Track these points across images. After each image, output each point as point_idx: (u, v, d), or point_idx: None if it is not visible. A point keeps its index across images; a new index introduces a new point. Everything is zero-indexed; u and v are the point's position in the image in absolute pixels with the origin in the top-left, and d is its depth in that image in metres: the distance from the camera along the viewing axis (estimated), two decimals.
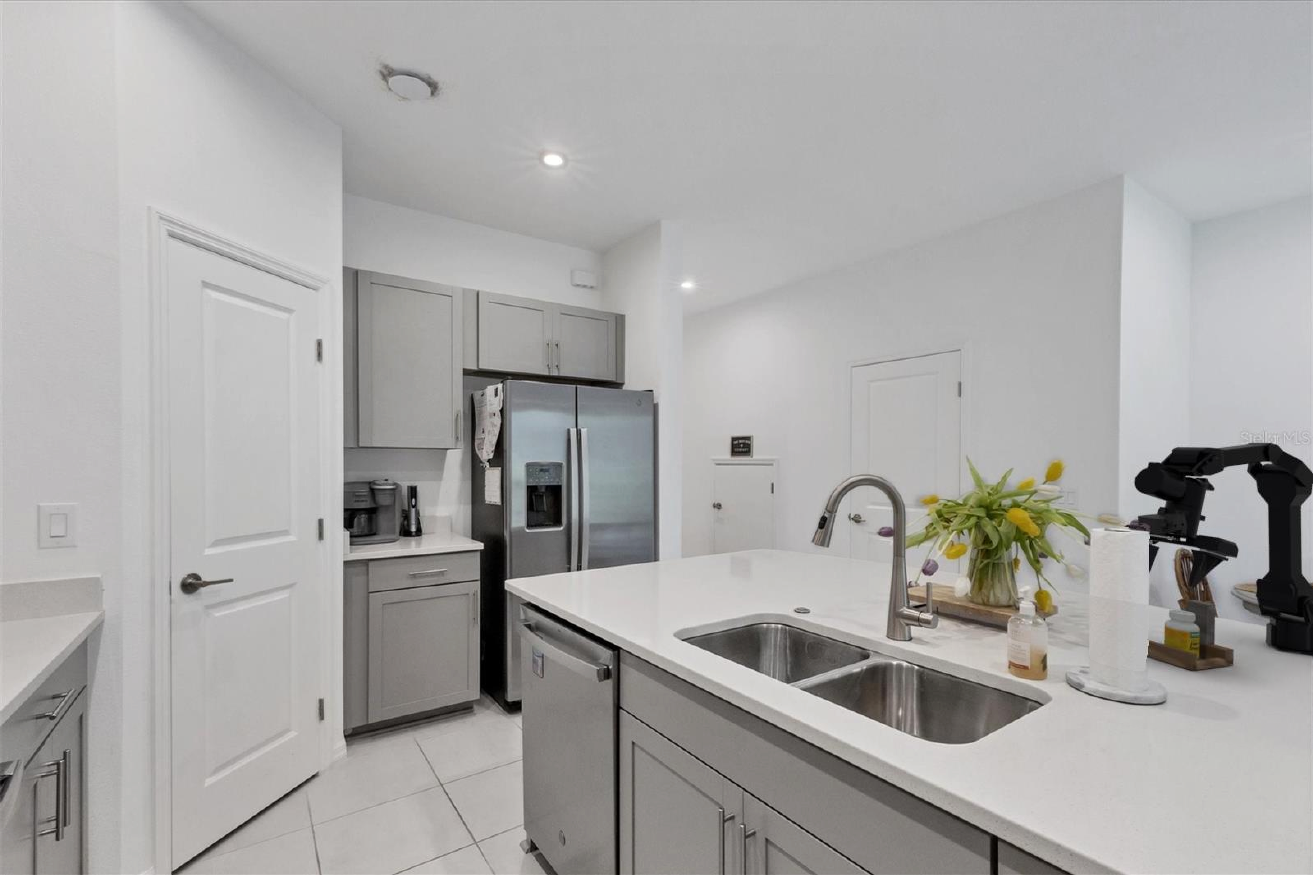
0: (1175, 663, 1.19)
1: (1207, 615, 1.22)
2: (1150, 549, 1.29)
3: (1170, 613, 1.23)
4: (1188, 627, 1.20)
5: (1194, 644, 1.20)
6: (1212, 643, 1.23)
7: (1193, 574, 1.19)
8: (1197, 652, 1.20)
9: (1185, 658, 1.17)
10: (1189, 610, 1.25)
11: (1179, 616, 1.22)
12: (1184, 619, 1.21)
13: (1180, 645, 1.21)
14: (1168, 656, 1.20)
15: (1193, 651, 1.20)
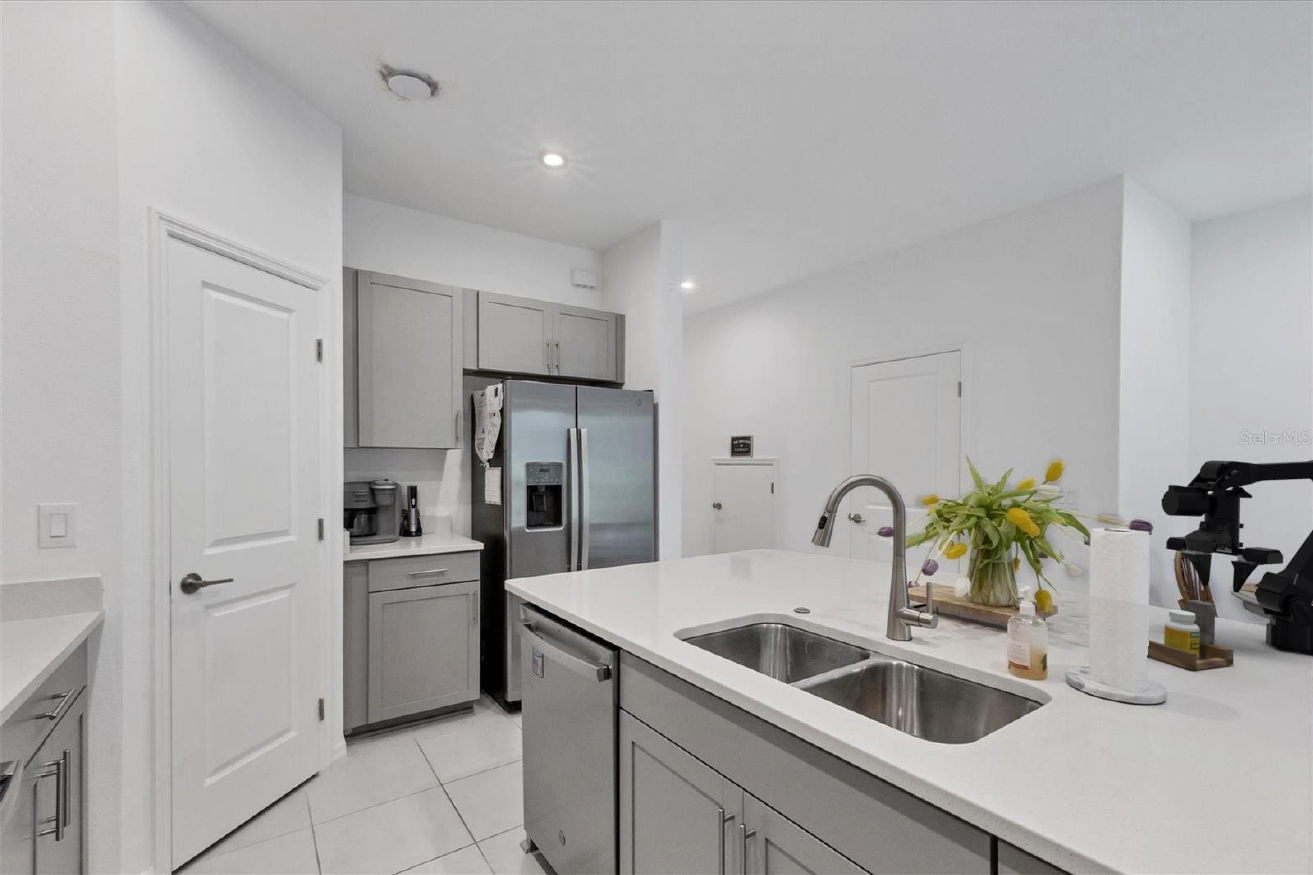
0: (1175, 663, 1.19)
1: (1207, 615, 1.22)
2: (1205, 559, 1.37)
3: (1170, 613, 1.23)
4: (1188, 627, 1.20)
5: (1194, 644, 1.20)
6: (1212, 643, 1.23)
7: (1236, 581, 1.30)
8: (1197, 652, 1.20)
9: (1185, 658, 1.17)
10: (1189, 610, 1.25)
11: (1179, 616, 1.22)
12: (1184, 619, 1.21)
13: (1180, 645, 1.21)
14: (1168, 656, 1.20)
15: (1193, 651, 1.20)
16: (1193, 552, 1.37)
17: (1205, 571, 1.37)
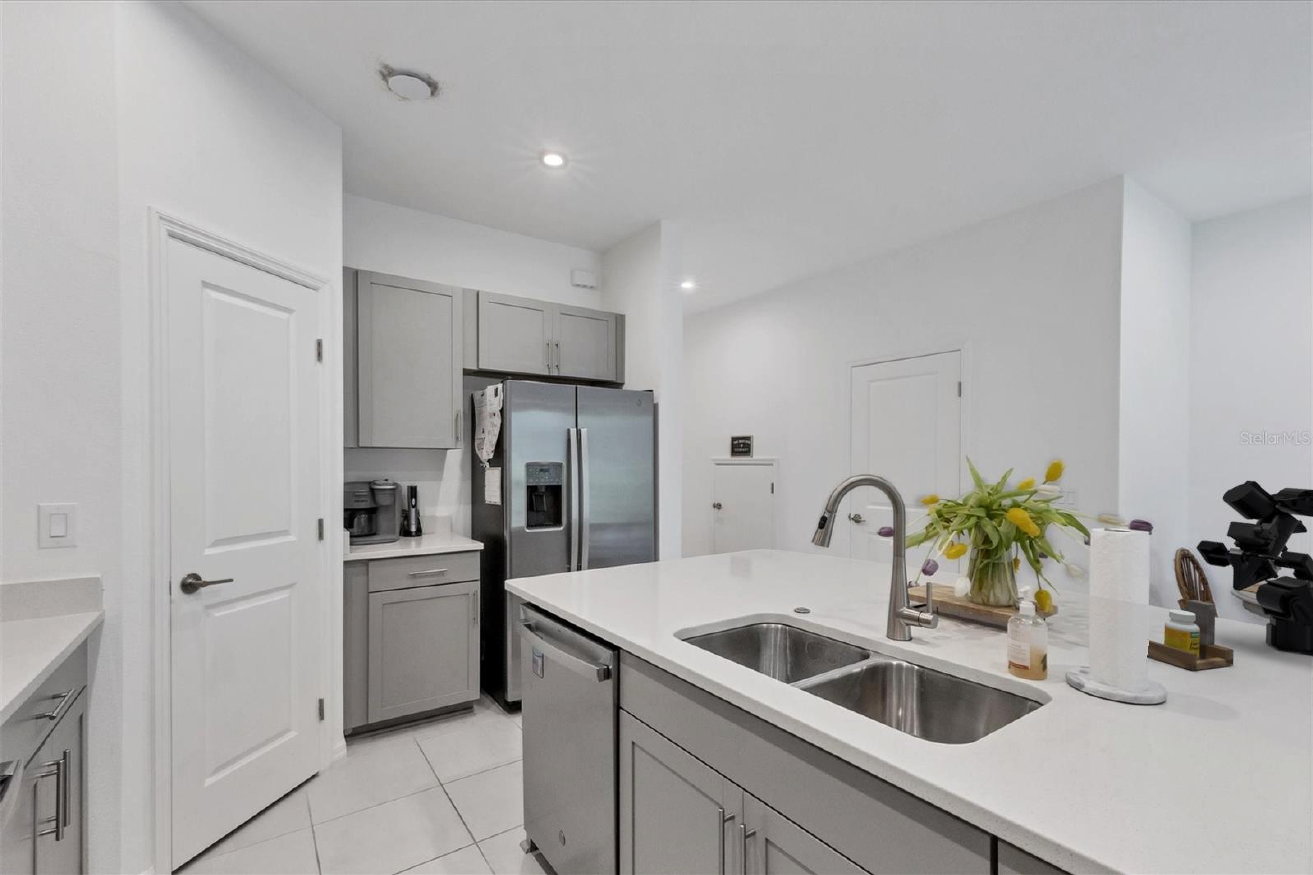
0: (1175, 663, 1.19)
1: (1207, 615, 1.22)
2: None
3: (1170, 613, 1.23)
4: (1188, 627, 1.20)
5: (1194, 644, 1.20)
6: (1212, 643, 1.23)
7: (1243, 578, 1.28)
8: (1197, 652, 1.20)
9: (1185, 658, 1.17)
10: (1189, 610, 1.25)
11: (1179, 616, 1.22)
12: (1184, 619, 1.21)
13: (1180, 645, 1.21)
14: (1168, 656, 1.20)
15: (1193, 651, 1.20)
16: None
17: None
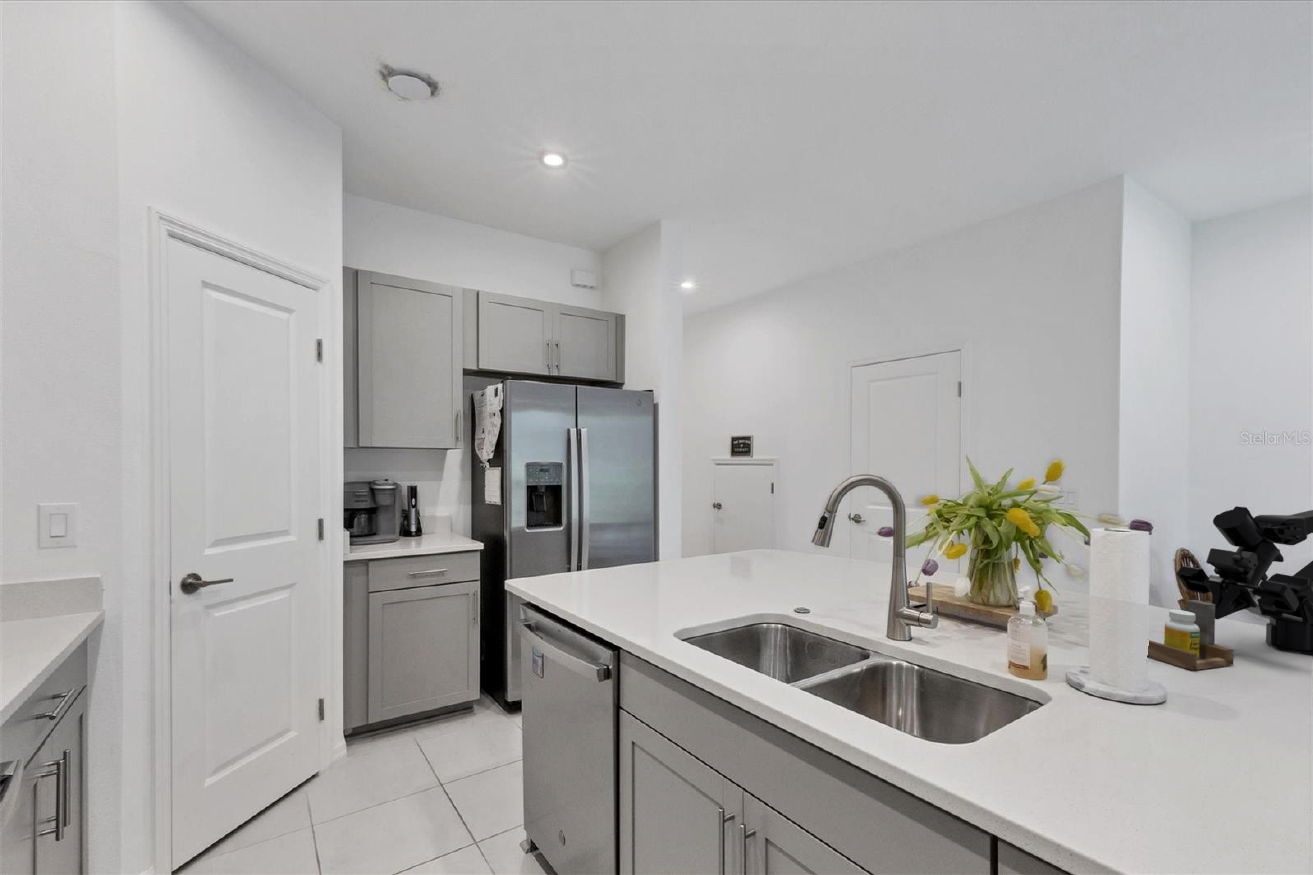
0: (1175, 663, 1.19)
1: (1207, 615, 1.22)
2: None
3: (1170, 613, 1.23)
4: (1188, 627, 1.20)
5: (1194, 644, 1.20)
6: (1212, 643, 1.23)
7: (1221, 606, 1.25)
8: (1197, 652, 1.20)
9: (1185, 658, 1.17)
10: (1189, 610, 1.25)
11: (1179, 616, 1.22)
12: (1184, 619, 1.21)
13: (1180, 645, 1.21)
14: (1168, 656, 1.20)
15: (1193, 651, 1.20)
16: None
17: None
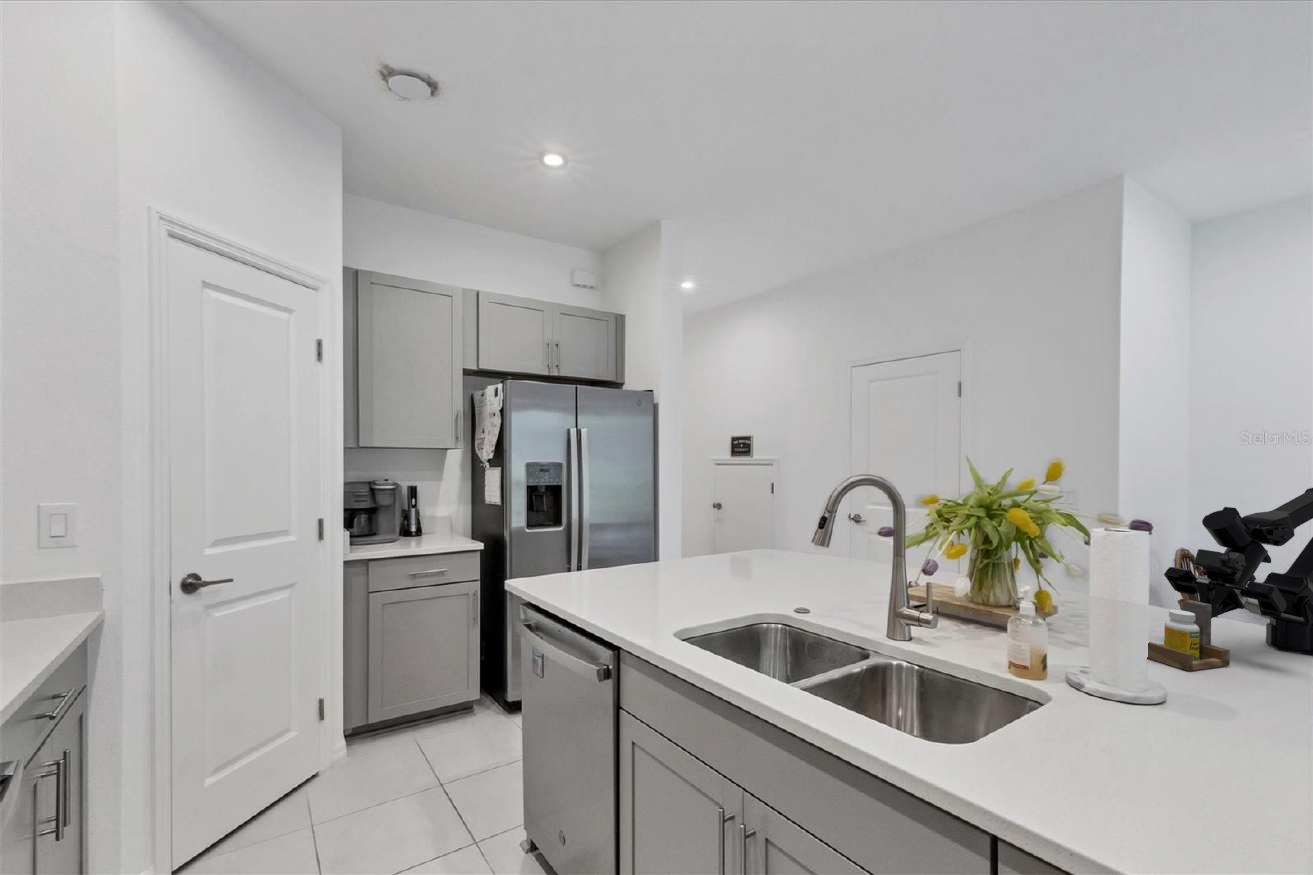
0: (1171, 664, 1.19)
1: (1203, 615, 1.22)
2: None
3: (1170, 613, 1.23)
4: (1188, 627, 1.20)
5: (1194, 644, 1.20)
6: (1208, 643, 1.23)
7: None
8: (1197, 652, 1.20)
9: (1181, 658, 1.17)
10: (1185, 610, 1.25)
11: (1179, 616, 1.22)
12: (1184, 619, 1.21)
13: (1180, 645, 1.21)
14: (1164, 656, 1.20)
15: (1193, 651, 1.20)
16: None
17: None
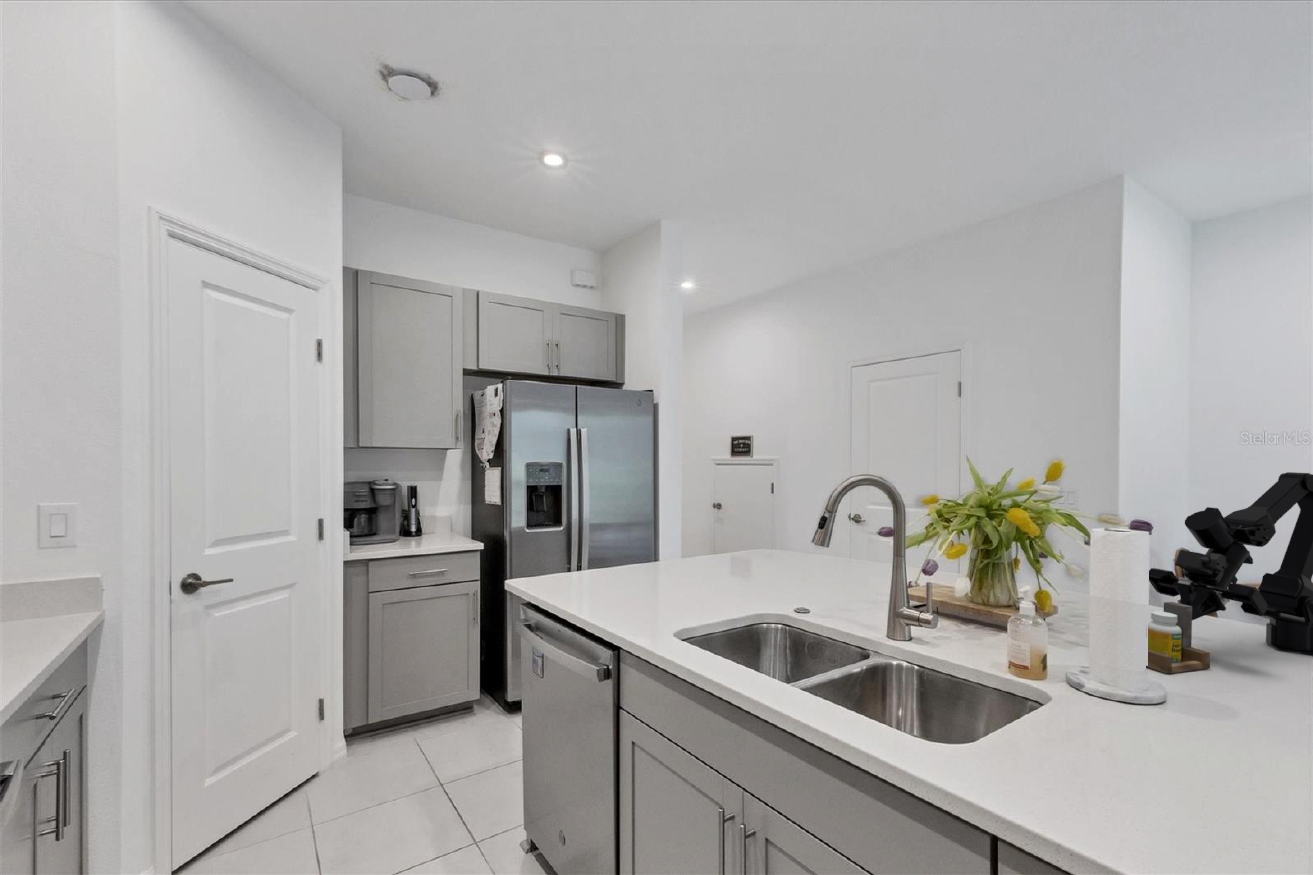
0: (1150, 666, 1.17)
1: (1184, 617, 1.20)
2: None
3: (1152, 615, 1.22)
4: (1170, 629, 1.19)
5: (1176, 646, 1.18)
6: (1189, 646, 1.21)
7: None
8: (1179, 654, 1.19)
9: (1161, 661, 1.15)
10: None
11: (1161, 618, 1.20)
12: (1166, 620, 1.19)
13: (1162, 647, 1.19)
14: None
15: (1175, 653, 1.18)
16: (1188, 585, 1.25)
17: None
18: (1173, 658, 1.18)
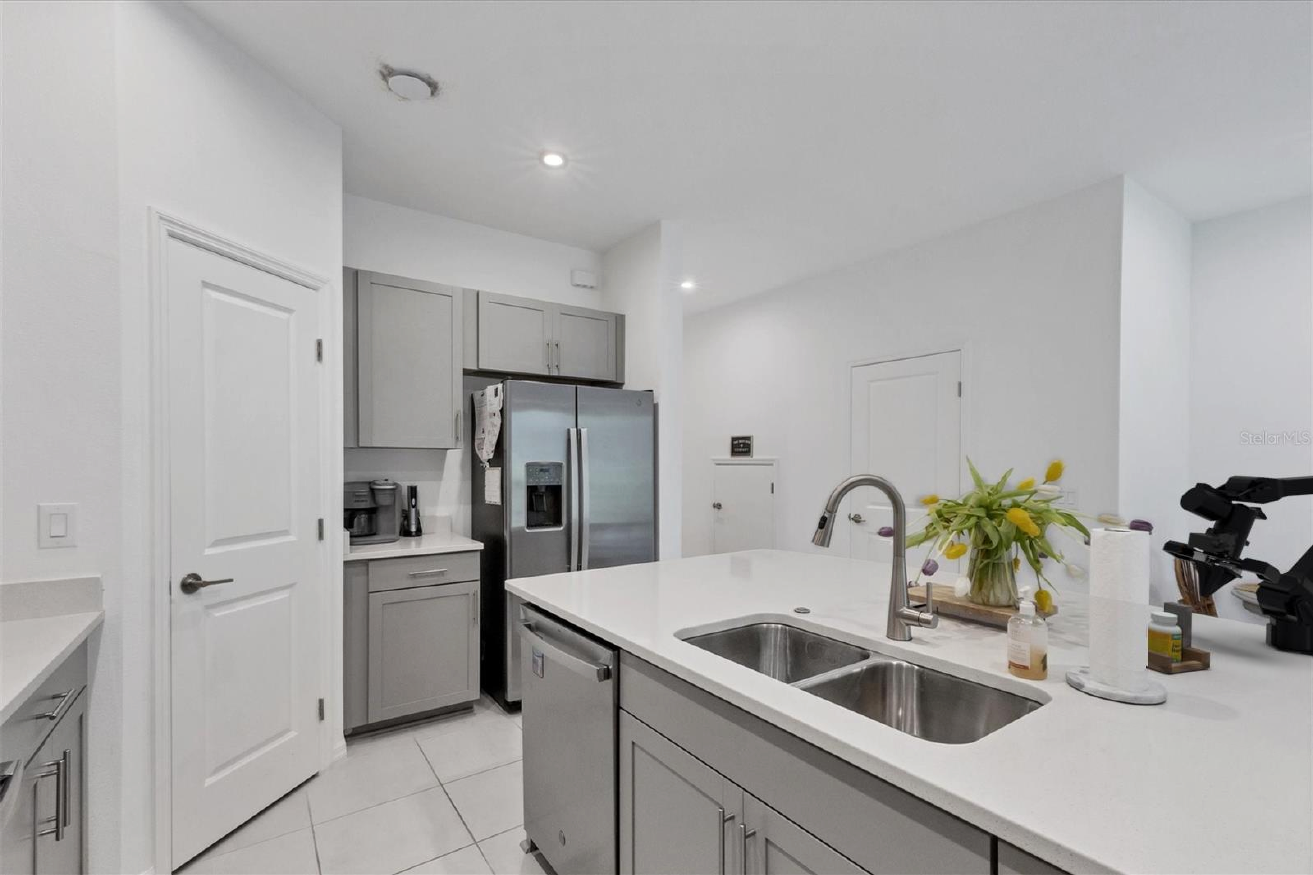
0: (1150, 666, 1.17)
1: (1184, 617, 1.20)
2: (1212, 571, 1.32)
3: (1152, 615, 1.22)
4: (1170, 629, 1.19)
5: (1176, 646, 1.18)
6: (1189, 646, 1.21)
7: (1208, 586, 1.30)
8: (1179, 654, 1.19)
9: (1161, 661, 1.15)
10: None
11: (1161, 618, 1.20)
12: (1165, 620, 1.19)
13: (1162, 647, 1.19)
14: None
15: (1175, 653, 1.18)
16: (1203, 560, 1.32)
17: None
18: (1173, 658, 1.18)
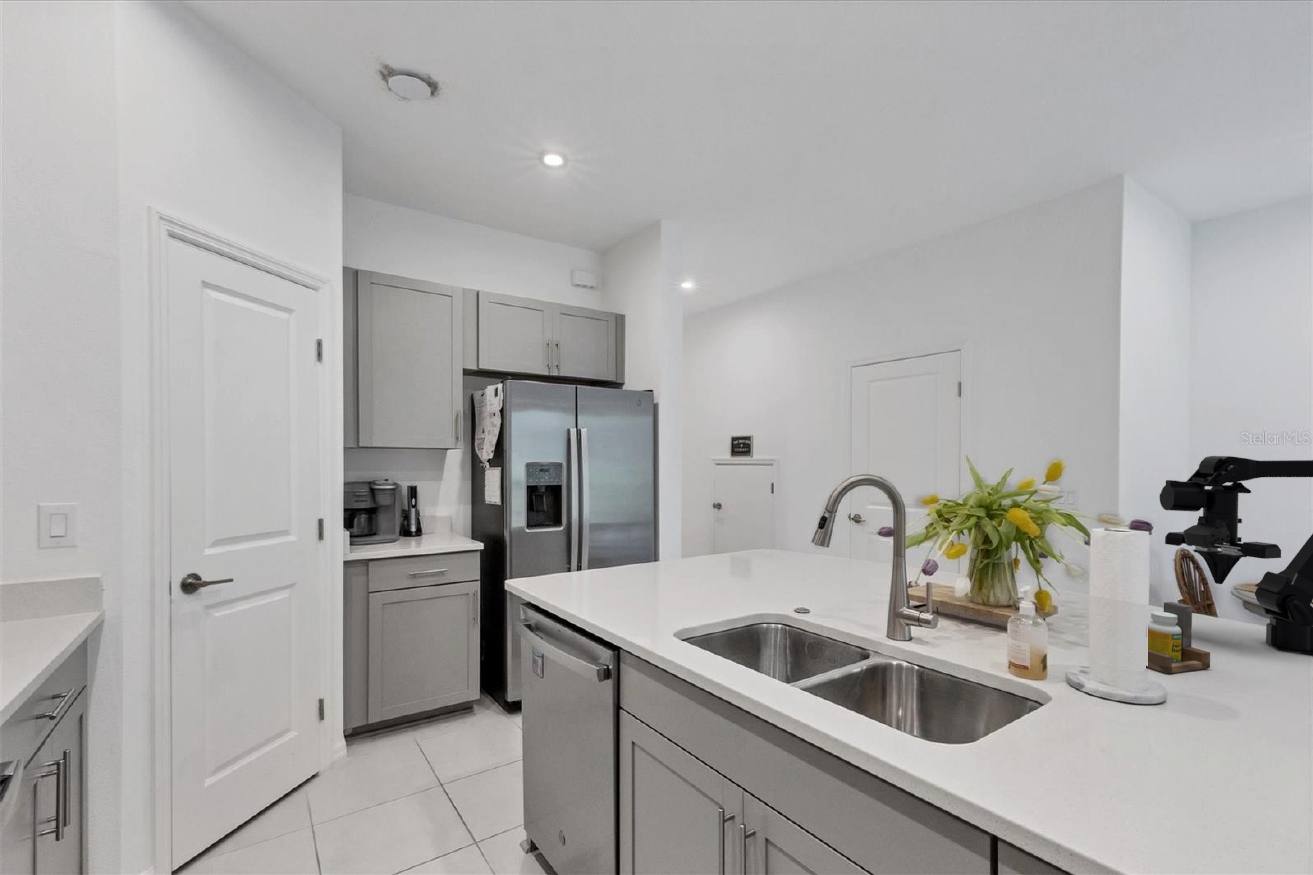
0: (1150, 666, 1.17)
1: (1184, 617, 1.20)
2: None
3: (1152, 615, 1.22)
4: (1170, 629, 1.19)
5: (1176, 646, 1.18)
6: (1189, 646, 1.21)
7: (1219, 573, 1.34)
8: (1179, 654, 1.19)
9: (1161, 661, 1.15)
10: None
11: (1161, 618, 1.20)
12: (1165, 620, 1.19)
13: (1162, 647, 1.19)
14: None
15: (1175, 653, 1.18)
16: (1205, 549, 1.35)
17: None
18: (1173, 658, 1.18)
